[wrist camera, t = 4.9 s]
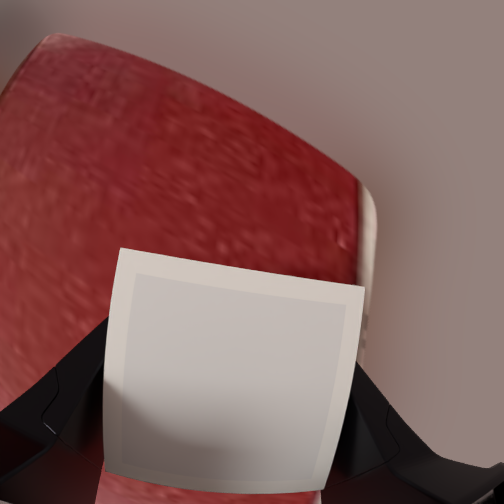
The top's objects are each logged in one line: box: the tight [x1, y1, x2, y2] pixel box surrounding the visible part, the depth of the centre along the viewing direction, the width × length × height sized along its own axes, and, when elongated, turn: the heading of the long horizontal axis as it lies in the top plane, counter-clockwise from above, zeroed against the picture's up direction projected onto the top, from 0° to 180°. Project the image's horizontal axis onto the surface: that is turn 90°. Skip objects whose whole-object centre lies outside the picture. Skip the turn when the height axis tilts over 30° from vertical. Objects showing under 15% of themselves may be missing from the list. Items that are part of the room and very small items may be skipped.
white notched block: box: [103, 248, 365, 494], centre depth 10 cm, size 6×6×10 cm
